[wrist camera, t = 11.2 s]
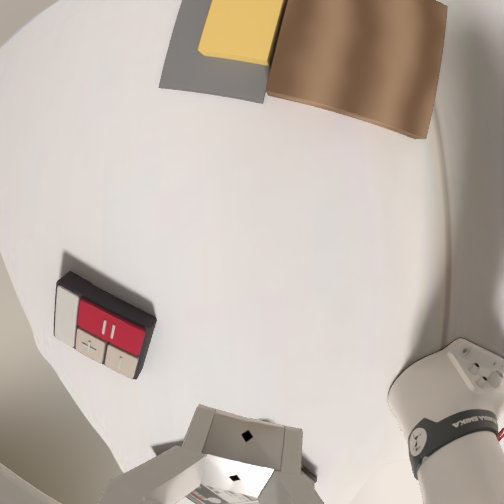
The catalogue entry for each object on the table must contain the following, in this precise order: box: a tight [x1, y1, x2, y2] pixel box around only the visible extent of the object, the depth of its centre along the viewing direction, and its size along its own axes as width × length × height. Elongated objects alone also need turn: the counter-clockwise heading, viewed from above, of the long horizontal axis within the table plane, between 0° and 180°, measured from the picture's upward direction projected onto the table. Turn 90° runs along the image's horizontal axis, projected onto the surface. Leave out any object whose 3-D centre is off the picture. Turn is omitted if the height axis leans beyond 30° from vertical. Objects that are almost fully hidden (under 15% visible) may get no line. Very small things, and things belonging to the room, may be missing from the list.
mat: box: [159, 0, 288, 104], centre depth 28 cm, size 12×17×1 cm
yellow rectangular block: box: [198, 0, 287, 66], centre depth 26 cm, size 7×10×2 cm
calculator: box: [54, 272, 157, 379], centre depth 42 cm, size 11×4×15 cm
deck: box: [266, 0, 447, 139], centre depth 26 cm, size 16×16×4 cm
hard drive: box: [185, 464, 317, 504], centre depth 51 cm, size 18×27×4 cm
